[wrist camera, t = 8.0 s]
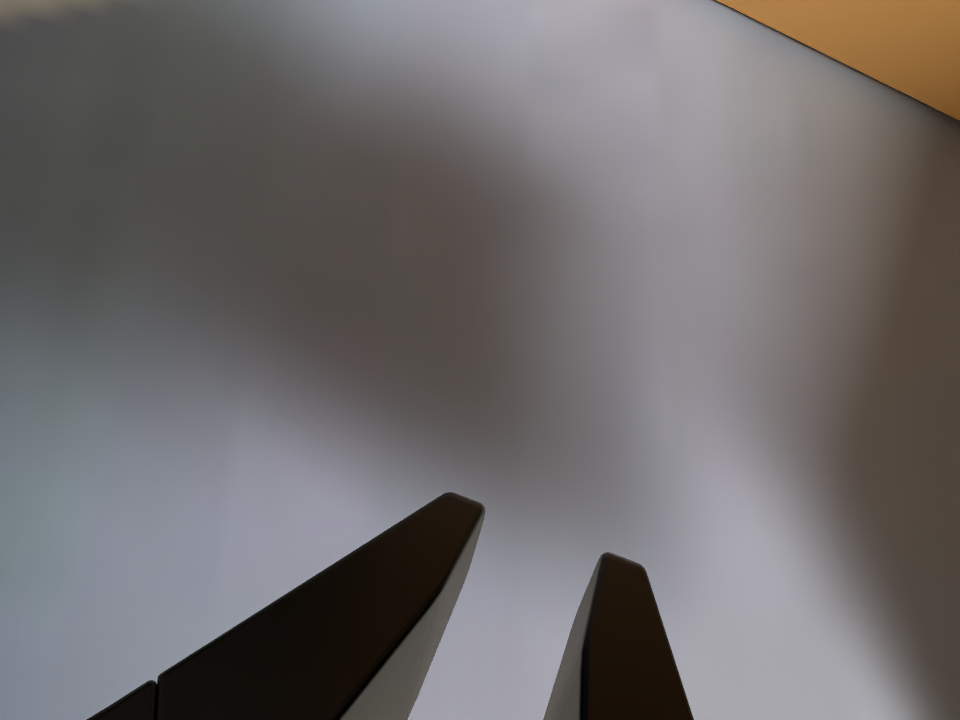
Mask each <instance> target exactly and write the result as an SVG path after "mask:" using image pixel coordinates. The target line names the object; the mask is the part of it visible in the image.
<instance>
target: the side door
mask: <svg viewBox="0 0 960 720" xmlns="http://www.w3.org/2000/svg"><path fill="white" fill-rule="evenodd" d="M717 1H719V2H721V3H723V4H725V5H727V6H729V7H731V8H733V9H735V10H737V11H739V12H741V13H743V14H745V15H747V16H749V17H751V18H753V19H755V20H757V21H759V22H761V23H763V24H765V25H767V26H769V27H772V28H774V29H776V30H778V31H780V32H782V33H784V34H786V35H788V36H790V37H792V38H794V39H796V40H798V41H800V42H802V43H804V44H806V45H808V46H810V47H812V48H814V49H816V50H818V51H820V52H822V53H824V54H826V55H828V56H830V57H832V58H834V59H836V60H838V61H840V62H842V63H844V64H846V65H848V66H850V67H852V68H854V69H856V70H858V71H860V72H862V73H864V74H866V75H868V76H870V77H873V78H875V79H877V80H879V81H881V82H883V83H885V84H887V85H889V86H891V87H893V88H895V89H897V90H899V91H901V92H903V93H905V94H907V95H909V96H911V97H913V98H915V99H917V100H919V101H921V102H923V103H925V104H927V105H929V106H931V107H933V108H935V109H937V110H939V111H941V112H943V113H945V114H947V115H949V116H951V117H953V118H955V119H957V120H959V121H960V0H717Z"/></svg>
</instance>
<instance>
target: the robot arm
mask: <svg viewBox="0 0 960 720" xmlns="http://www.w3.org/2000/svg"><path fill="white" fill-rule="evenodd" d="M484 516H485V508H484V506H483V504H481V503H479V502H476V501H474V500H471V499H469V498H466V497H463V496H461V495H458V494H456V493H452V492H448V493H445V494H443V495H441V496H439V497H438V498H436V499H435V500H433V501H432V502H430V503H428V504H427V505H425V506H424V507H422V508H421V509H419V510H417V511H416V512H414V513H413V514H411V515H410V516H408V517H406V518H405V519H403V520H402V521H400V522H399V523H397V524H395V525H394V526H392V527H391V528H389V529H388V530H386V531H384V532H383V533H381V534H380V535H378V536H377V537H375V538H373V539H372V540H370V541H369V542H367V543H366V544H364V545H362V546H361V547H359V548H358V549H356V550H355V551H353V552H351V553H350V554H348V555H347V556H345V557H343V558H342V559H340V560H339V561H337V562H336V563H334V564H332V565H331V566H329V567H328V568H326V569H325V570H323V571H321V572H320V573H318V574H317V575H315V576H314V577H312V578H310V579H309V580H307V581H306V582H304V583H303V584H301V585H299V586H298V587H296V588H295V589H293V590H292V591H290V592H288V593H287V594H285V595H284V596H282V597H281V598H279V599H277V600H276V601H274V602H273V603H271V604H270V605H268V606H266V607H265V608H263V609H262V610H260V611H259V612H257V613H255V614H254V615H252V616H251V617H249V618H248V619H246V620H244V621H243V622H241V623H240V624H238V625H236V626H235V627H233V628H232V629H230V630H229V631H227V632H225V633H224V634H222V635H221V636H219V637H218V638H216V639H214V640H213V641H211V642H210V643H208V644H207V645H205V646H203V647H202V648H200V649H199V650H197V651H196V652H194V653H192V654H191V655H189V656H188V657H186V658H185V659H183V660H181V661H180V662H178V663H177V664H175V665H174V666H172V667H170V668H169V669H167V670H166V671H164V672H163V673H161V674H160V675H159V676H158V680H157V683H156V682H155V681H153V680H150V681H147V682H146V683H144V684H143V685H141V686H140V687H138V688H137V689H135V690H133V691H132V692H130V693H129V694H127V695H126V696H124V697H123V698H121V699H119V700H118V701H116V702H115V703H113V704H112V705H110V706H109V707H107V708H105V709H104V710H102V711H100V712H99V713H97V714H95V715H94V716H92V717H90V718H89V719H87V720H407V719H408V717H409V714H410V712H411V710H412V708H413V706H414V703H415V701H416V699H417V697H418V694H419V692H420V689H421V687H422V684H423V682H424V679H425V677H426V675H427V672H428V670H429V667H430V665H431V662H432V660H433V657H434V655H435V653H436V650H437V648H438V645H439V643H440V640H441V638H442V635H443V633H444V631H445V628H446V626H447V623H448V621H449V618H450V616H451V613H452V611H453V609H454V606H455V604H456V601H457V599H458V596H459V594H460V591H461V589H462V587H463V584H464V581H465V579H466V576H467V573H468V571H469V568H470V564H471V561H472V558H473V554H474V551H475V547H476V544H477V541H478V537H479V534H480V530H481V527H482V523H483V520H484ZM543 720H694V719H693V716H692V713H691V709H690V706H689V703H688V700H687V697H686V694H685V691H684V688H683V685H682V682H681V678H680V675H679V672H678V669H677V666H676V663H675V660H674V657H673V654H672V650H671V647H670V644H669V641H668V638H667V635H666V632H665V629H664V626H663V622H662V619H661V616H660V613H659V610H658V607H657V604H656V601H655V598H654V594H653V591H652V588H651V585H650V582H649V579H648V576H647V573H646V570H645V569H644V567H643V566H642V565H640V564H638V563H636V562H633V561H631V560H628V559H625V558H623V557H620V556H618V555H615V554H612V553H609V552H607V553H604V554H603V555H601V557H600V558H599V560H598V563H597V565H596V567H595V570H594V572H593V575H592V577H591V579H590V582H589V584H588V587H587V589H586V591H585V594H584V596H583V599H582V601H581V604H580V606H579V608H578V611H577V614H576V617H575V619H574V622H573V625H572V629H571V632H570V635H569V638H568V641H567V645H566V648H565V651H564V654H563V658H562V661H561V664H560V667H559V671H558V674H557V677H556V680H555V684H554V687H553V690H552V693H551V697H550V700H549V703H548V706H547V710H546V713H545V716H544V719H543Z"/></svg>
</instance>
